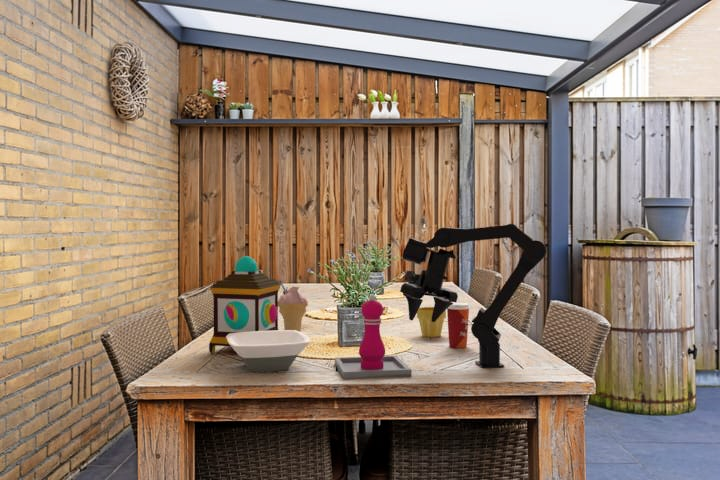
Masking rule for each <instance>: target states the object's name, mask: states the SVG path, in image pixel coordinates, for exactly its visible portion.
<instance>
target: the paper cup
mask: <svg viewBox="0 0 720 480" xmlns="http://www.w3.org/2000/svg"><path fill="white" fill-rule="evenodd" d="M452 303H453V305H450V306H449V307H448V308H447V309H446V316H447V330H448V331H447V332H448V347H450V348H452V349H465V348H467V346H468V345H467V344H468V331H469V318H470V317H469V316H470V315H469V313H470V309H471V307H470V305H469V303H465V302H452Z"/></svg>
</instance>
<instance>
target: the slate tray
mask: <svg viewBox="0 0 720 480" xmlns="http://www.w3.org/2000/svg"><path fill="white" fill-rule="evenodd" d="M362 360H363V359H362V358H361V356H343V357H341V356H340V357H334V365H335V367H336V369H337V370H338V372H339V373H340V375H341V377H342V379H343V380H352V379H376V378H377V379H378V378H399V377H400V378H406V377H412V374H413V373H412V371H413V370H412V368H410V366H408V365H407V364H406V362H404V361H403V360H402V359H401V358H399V357H398V355H384V357H383V358H382V359H381V360H382V361H383V368H382V369H379V370H366V369H362V368H361V361H362Z"/></svg>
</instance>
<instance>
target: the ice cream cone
mask: <svg viewBox="0 0 720 480" xmlns="http://www.w3.org/2000/svg"><path fill="white" fill-rule="evenodd" d="M278 282H279V283H280V284H281V286H280V287H282V290H283V291H282V295H280V296H279V298H278V313H279V314H280V315H281V317H282V319H283V325H284V326H283V327H284V330H296V331H299V332H301V330H302V321H303V317H304V315H305V314H306V312H307V309H306V308H307V307H308V306H309V302H308V300H307V297H306V295H302V293H300V292H298V290H299V288H300V286H292V287H290V288H289V286H287V287H285V285H284V284H283V283H282V281H281V280H278ZM288 288H289V289H288Z"/></svg>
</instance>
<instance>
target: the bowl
mask: <svg viewBox="0 0 720 480" xmlns="http://www.w3.org/2000/svg"><path fill="white" fill-rule="evenodd" d="M226 338H227V341H228V343H229V345H230V346H229V347H230V348H232V349H233V351H234V352H236V354H237V355H238V356H239V357H240V358H241V360H242V362H243V363H244V365H245V366H246V368H247V370H248V371H249V372H251V373H267V372H268V373H269V372H270V373H271V372H280V371H288V370H289V369H290V368H291V366H292V364H293V363H294V362H295V360H296V359H297V357H298V356H299V355H300V354H301V353H302V352H303V351H304V350H305V349H306V347H307V346H309V344H310V342H311V339H310V337H308V336H307V335H306V334H305V333H304V332H301V331H300V332H299V331H296V330H285V329H284V330H283V329H280V330H279V329H278V330H274V331H252V332H238V333H229V334H228V335H227V336H226Z"/></svg>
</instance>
